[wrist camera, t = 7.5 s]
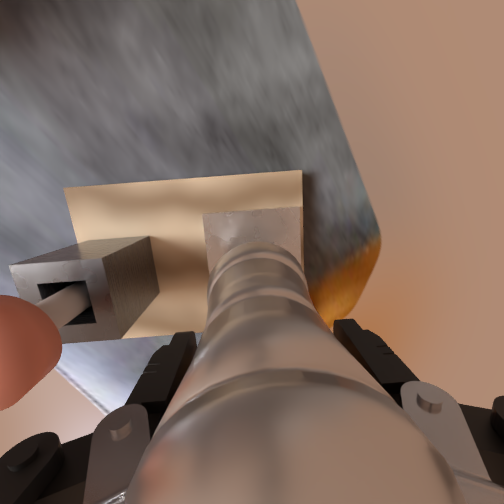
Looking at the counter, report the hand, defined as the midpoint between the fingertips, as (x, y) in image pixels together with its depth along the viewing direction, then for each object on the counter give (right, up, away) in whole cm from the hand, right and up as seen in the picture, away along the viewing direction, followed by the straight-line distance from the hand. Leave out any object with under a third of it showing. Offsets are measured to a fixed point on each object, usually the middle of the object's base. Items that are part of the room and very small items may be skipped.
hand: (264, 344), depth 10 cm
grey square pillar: (-13, +2, +14) cm, 19 cm away
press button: (-13, +1, +9) cm, 16 cm away
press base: (-6, +3, +16) cm, 17 cm away
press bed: (0, +3, +14) cm, 14 cm away
